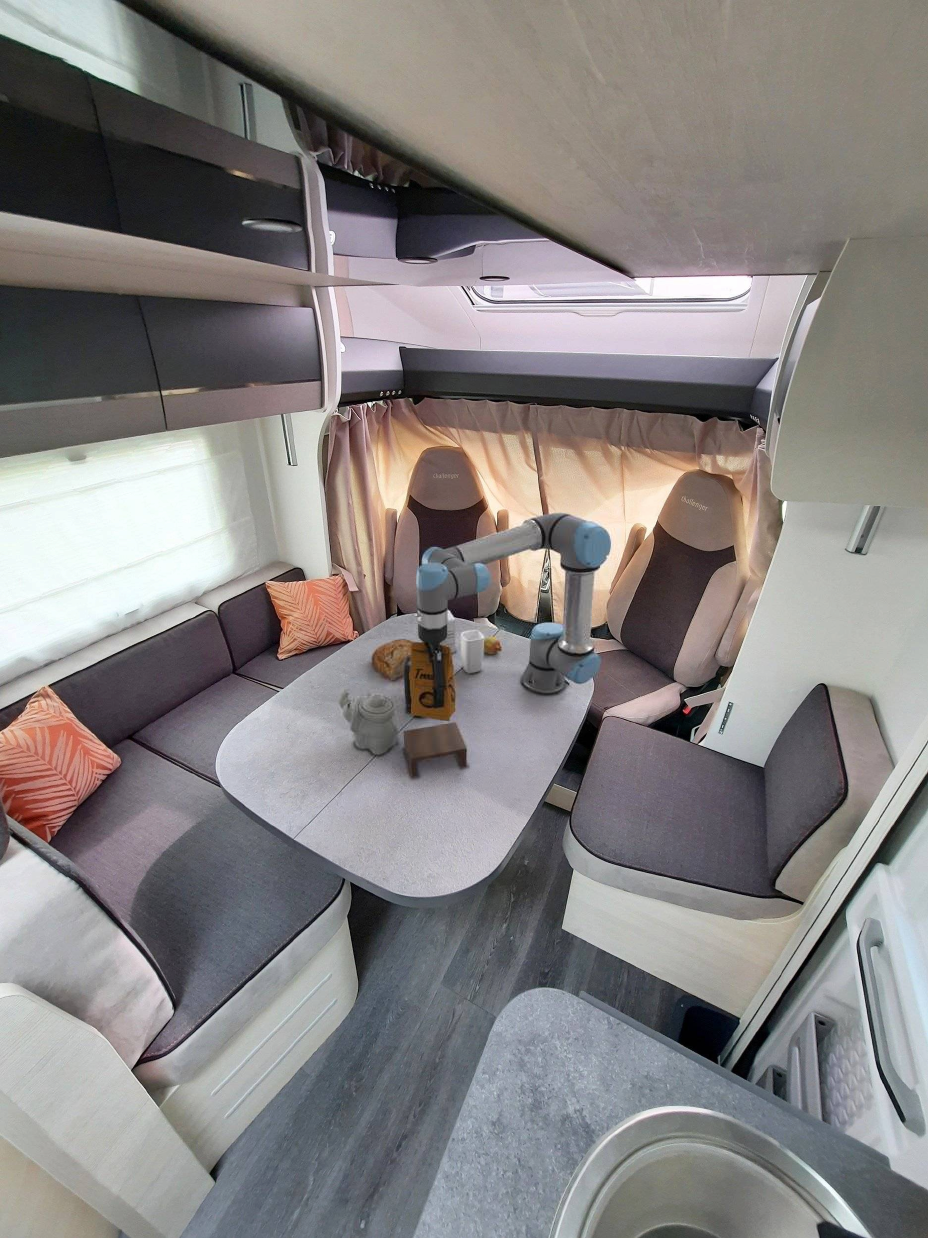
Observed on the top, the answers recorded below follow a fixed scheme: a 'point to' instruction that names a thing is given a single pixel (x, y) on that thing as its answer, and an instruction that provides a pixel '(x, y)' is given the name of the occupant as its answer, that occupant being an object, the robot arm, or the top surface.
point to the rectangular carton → (450, 633)
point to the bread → (392, 658)
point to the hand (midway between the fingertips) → (433, 693)
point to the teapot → (371, 721)
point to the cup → (472, 650)
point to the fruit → (492, 645)
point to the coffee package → (430, 684)
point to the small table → (434, 744)
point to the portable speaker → (407, 686)
